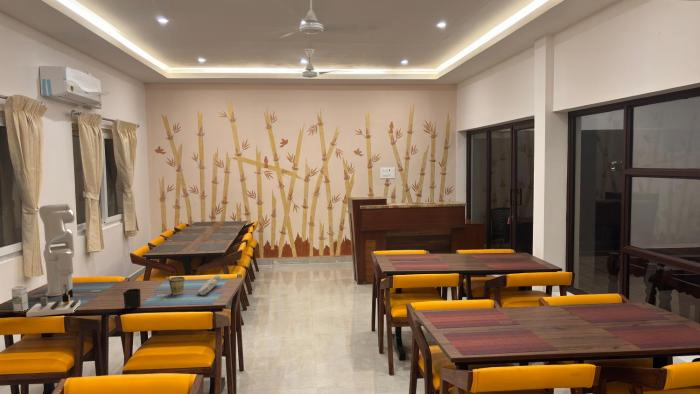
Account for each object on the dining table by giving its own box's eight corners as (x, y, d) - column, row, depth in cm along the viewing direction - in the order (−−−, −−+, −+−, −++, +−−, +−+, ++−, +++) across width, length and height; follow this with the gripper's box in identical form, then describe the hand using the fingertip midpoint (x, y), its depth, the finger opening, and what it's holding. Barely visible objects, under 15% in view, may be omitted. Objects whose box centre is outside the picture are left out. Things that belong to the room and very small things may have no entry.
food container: (223, 279, 353) (220, 272, 352) (211, 294, 323) (207, 286, 322) (209, 286, 353) (205, 279, 353) (196, 301, 324) (191, 294, 323)
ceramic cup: (180, 295, 325) (179, 280, 324) (166, 295, 327) (165, 280, 326) (190, 290, 338) (189, 275, 337) (176, 289, 340) (176, 275, 339)
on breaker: (42, 304, 301) (41, 297, 300) (47, 304, 301) (47, 296, 301) (40, 305, 298) (40, 298, 298) (46, 305, 299) (46, 297, 299)
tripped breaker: (64, 302, 304) (64, 295, 303) (70, 302, 304) (69, 294, 304) (63, 303, 301) (62, 296, 301) (69, 303, 302) (68, 296, 302)
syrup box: (28, 309, 301) (27, 285, 300) (22, 312, 296) (21, 288, 294) (19, 309, 301) (17, 285, 300) (12, 312, 295) (11, 288, 294)
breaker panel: (36, 307, 304) (36, 303, 304) (80, 303, 311) (80, 299, 311) (26, 317, 287) (26, 312, 287) (73, 312, 294) (73, 308, 293)
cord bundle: (57, 302, 305) (57, 299, 305) (79, 300, 309) (79, 297, 308) (50, 310, 291) (50, 306, 291) (73, 308, 294) (73, 304, 294)
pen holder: (121, 307, 302) (120, 290, 302) (137, 303, 309) (136, 287, 308) (127, 310, 296) (126, 293, 295) (143, 307, 302) (142, 290, 301)
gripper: (62, 269, 312) (64, 296, 313) (54, 275, 295) (57, 304, 297) (76, 268, 314) (78, 295, 315) (69, 274, 297) (71, 303, 299)
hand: (67, 299), depth 306 cm, fingers open, 9 cm apart
